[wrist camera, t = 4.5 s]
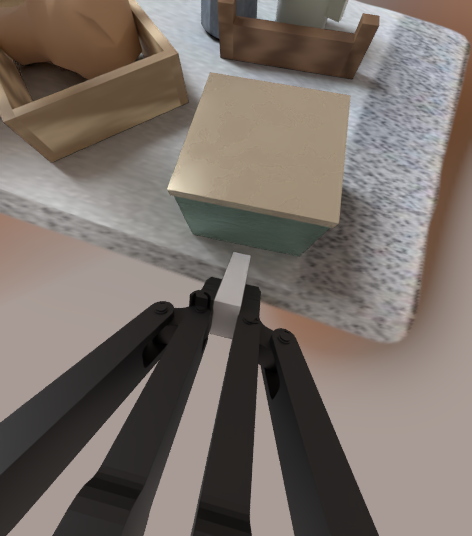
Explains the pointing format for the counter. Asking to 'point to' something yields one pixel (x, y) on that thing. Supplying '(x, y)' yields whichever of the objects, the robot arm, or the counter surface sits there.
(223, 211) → the green tea tin
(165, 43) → the pine crate
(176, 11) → the counter surface
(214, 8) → the moka pot
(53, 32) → the squash
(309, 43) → the walnut stop rail
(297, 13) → the sage mug
